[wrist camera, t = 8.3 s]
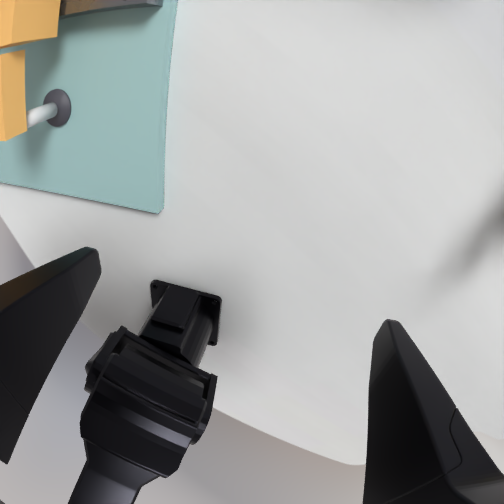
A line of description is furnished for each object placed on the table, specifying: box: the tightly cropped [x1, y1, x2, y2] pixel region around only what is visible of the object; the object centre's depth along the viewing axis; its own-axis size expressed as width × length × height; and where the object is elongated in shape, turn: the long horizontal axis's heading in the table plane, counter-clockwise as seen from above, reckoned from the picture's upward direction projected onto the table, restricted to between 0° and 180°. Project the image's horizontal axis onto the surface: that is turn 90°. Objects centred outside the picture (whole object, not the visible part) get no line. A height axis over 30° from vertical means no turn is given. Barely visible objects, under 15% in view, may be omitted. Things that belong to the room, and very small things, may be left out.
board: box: [0, 0, 178, 214], centre depth 18 cm, size 19×23×1 cm
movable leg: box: [0, 0, 61, 141], centre depth 13 cm, size 11×4×6 cm, turn 173°
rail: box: [59, 0, 163, 20], centre depth 14 cm, size 2×22×2 cm, turn 83°
